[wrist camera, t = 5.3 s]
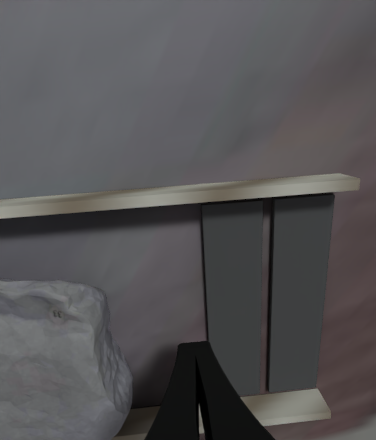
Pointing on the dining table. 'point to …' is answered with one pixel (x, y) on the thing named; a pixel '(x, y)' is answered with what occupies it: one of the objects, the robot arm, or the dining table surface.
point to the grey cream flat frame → (135, 198)
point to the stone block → (59, 363)
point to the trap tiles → (279, 288)
